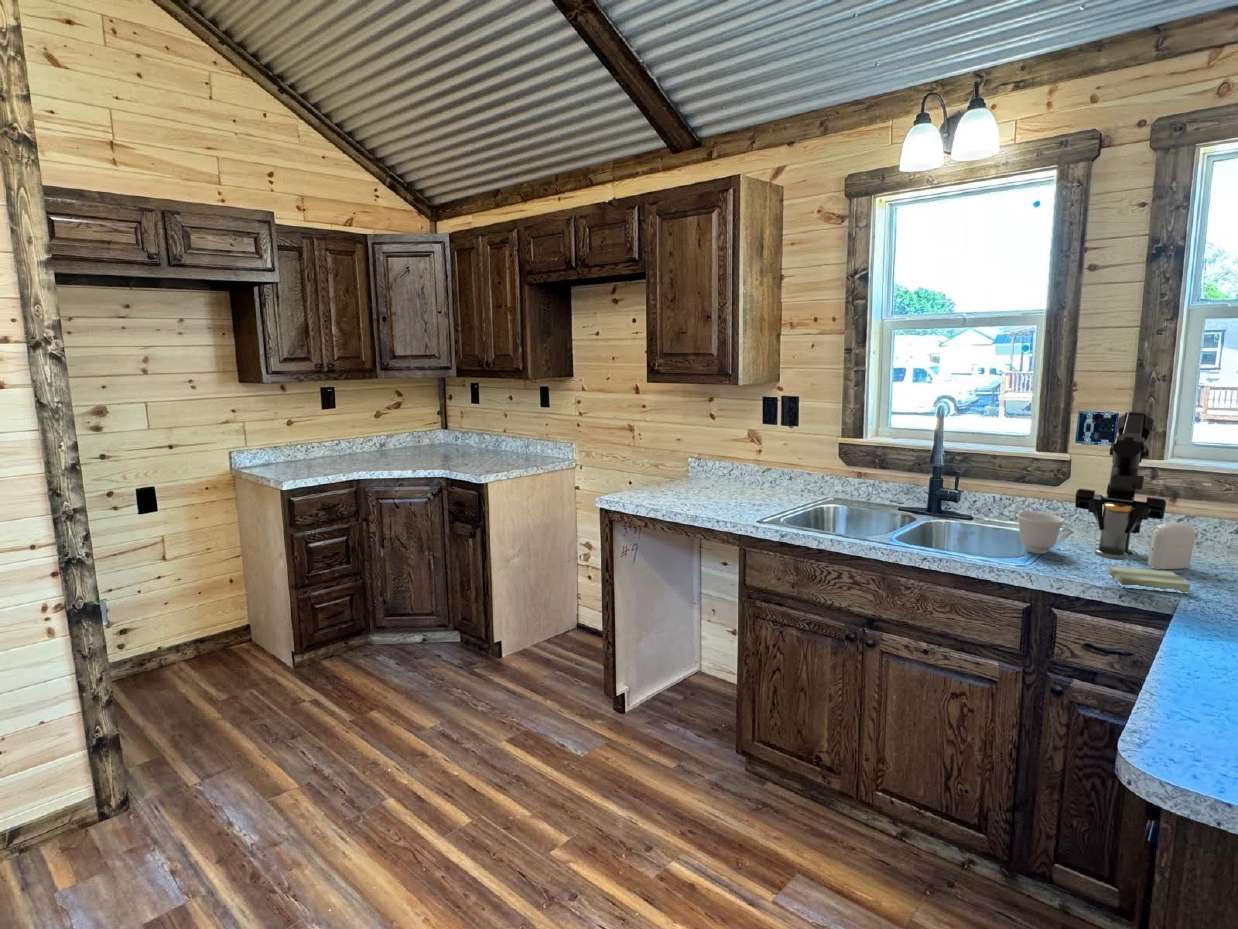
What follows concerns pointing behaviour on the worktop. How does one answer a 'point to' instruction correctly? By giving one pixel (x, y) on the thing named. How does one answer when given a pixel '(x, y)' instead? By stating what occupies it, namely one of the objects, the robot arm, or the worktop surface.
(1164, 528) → the photo printer
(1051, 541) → the teacup
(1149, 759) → the worktop surface
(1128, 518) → the cylinder
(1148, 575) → the stand
